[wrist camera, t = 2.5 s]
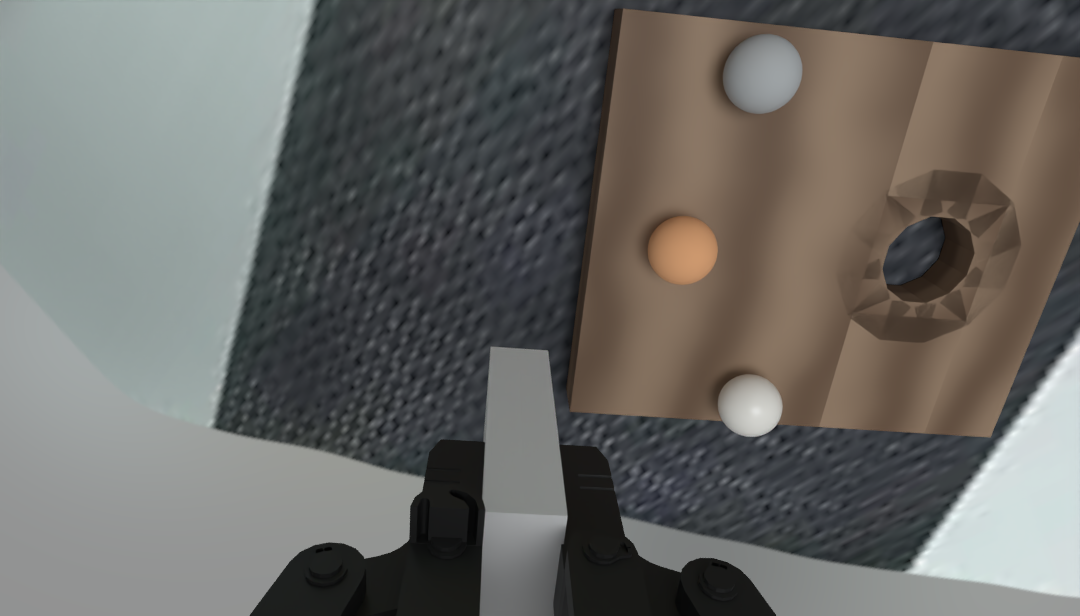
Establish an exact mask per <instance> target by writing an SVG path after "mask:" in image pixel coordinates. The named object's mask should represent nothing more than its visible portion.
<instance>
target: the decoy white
mask: <svg viewBox="0 0 1080 616" xmlns="http://www.w3.org/2000/svg"><path fill="white" fill-rule="evenodd" d="M782 408H783V405H782V399H781V396H780V393H779V392H778V390H777V388H776V387H775V386H774V385H773V384H772V383H771V382H770V381H769V380H767V379H765V378H763V377H761V376H758V375H753V374H745V375H740V376H737V377H735V378H733V379H731V380H730V381H728V382H727V383H726V384H725V385H724V387H723V388H722V390H721V392H720V394H719V397H718V411H719V414H720V417H721V419H722V421H723V422H724V424H725V425H726V426H727V427H728V428H729V429H730V430H732V431H733V432H735V433H737V434H739V435H742V436H747V437H756V436H761V435H764V434H766V433H768V432H769V431H771V430H772V429H773V428H774V427H775V426H776V425H777V423H778V422H779V420H780V418H781V415H782Z"/></svg>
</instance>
